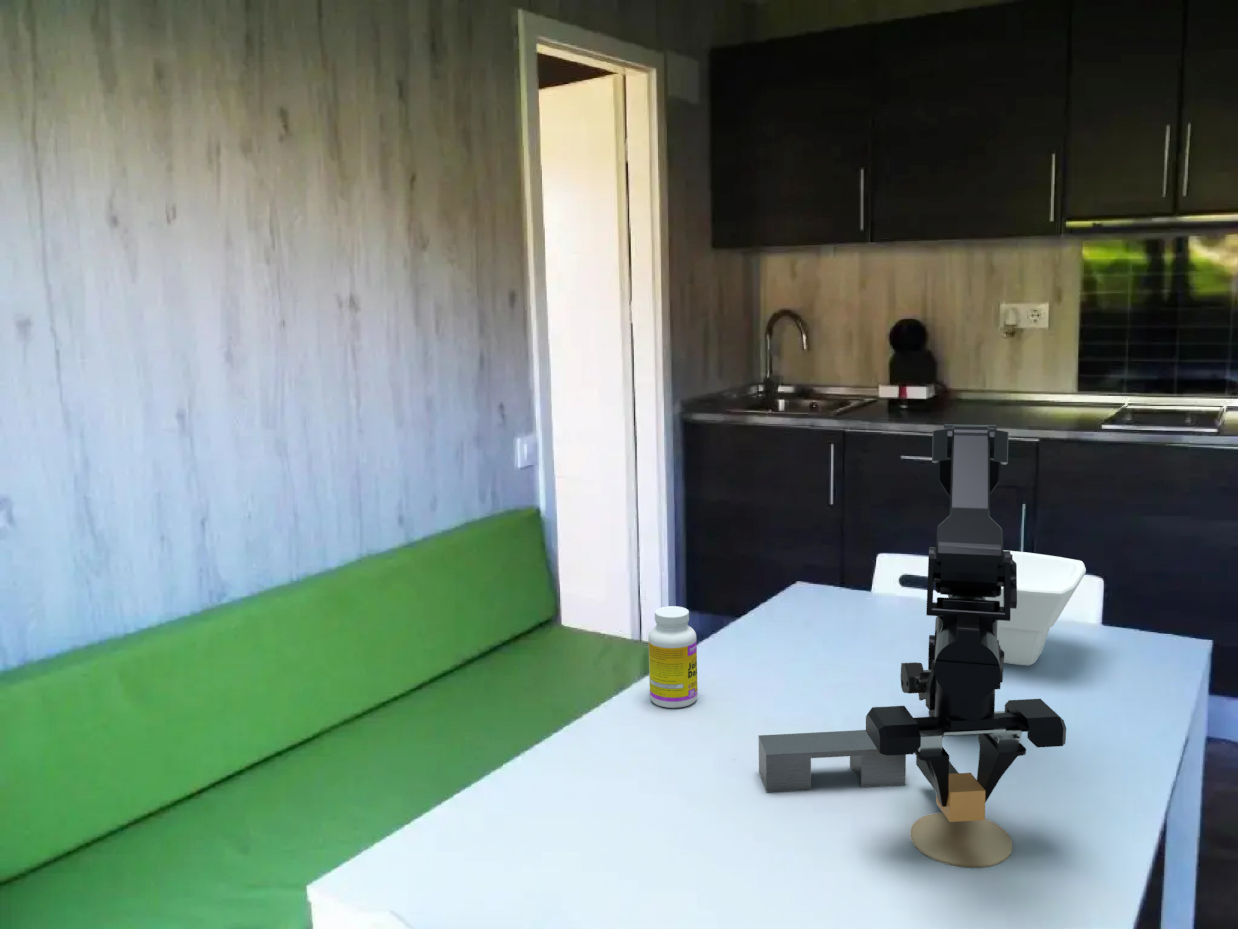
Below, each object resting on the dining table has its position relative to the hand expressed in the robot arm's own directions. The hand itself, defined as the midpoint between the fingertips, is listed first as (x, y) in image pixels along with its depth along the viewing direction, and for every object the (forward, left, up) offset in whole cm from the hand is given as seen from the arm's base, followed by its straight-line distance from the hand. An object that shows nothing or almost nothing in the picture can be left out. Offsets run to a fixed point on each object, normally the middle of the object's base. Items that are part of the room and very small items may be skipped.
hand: (961, 803), depth 108 cm
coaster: (0, 0, -4) cm, 4 cm away
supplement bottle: (+26, -39, -4) cm, 47 cm away
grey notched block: (+10, -14, -4) cm, 18 cm away
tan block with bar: (0, -5, -1) cm, 5 cm away
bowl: (-25, -48, -4) cm, 54 cm away
